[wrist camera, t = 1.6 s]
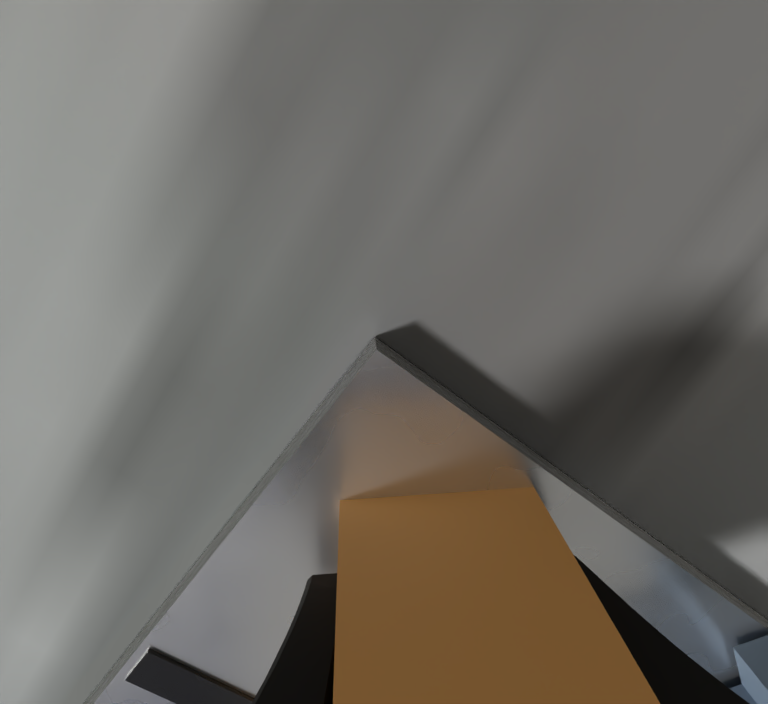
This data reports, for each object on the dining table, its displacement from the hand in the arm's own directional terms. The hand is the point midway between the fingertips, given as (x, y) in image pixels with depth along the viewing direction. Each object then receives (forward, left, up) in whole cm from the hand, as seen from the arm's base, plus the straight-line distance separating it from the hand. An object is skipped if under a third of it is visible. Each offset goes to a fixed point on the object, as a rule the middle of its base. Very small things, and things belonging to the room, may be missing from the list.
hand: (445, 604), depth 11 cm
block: (0, 0, -1) cm, 1 cm away
